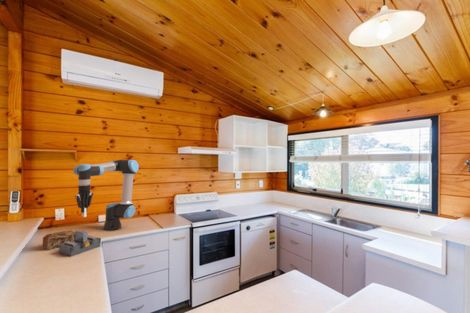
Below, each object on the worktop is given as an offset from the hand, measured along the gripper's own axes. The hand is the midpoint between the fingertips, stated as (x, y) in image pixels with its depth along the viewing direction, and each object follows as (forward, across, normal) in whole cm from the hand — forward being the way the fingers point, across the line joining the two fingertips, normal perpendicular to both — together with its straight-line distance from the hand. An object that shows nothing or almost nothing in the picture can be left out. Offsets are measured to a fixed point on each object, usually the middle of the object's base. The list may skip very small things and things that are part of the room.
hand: (84, 216), depth 174 cm
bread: (+22, +6, -17) cm, 29 cm away
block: (+19, +5, +5) cm, 20 cm away
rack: (+22, +6, +4) cm, 23 cm away
